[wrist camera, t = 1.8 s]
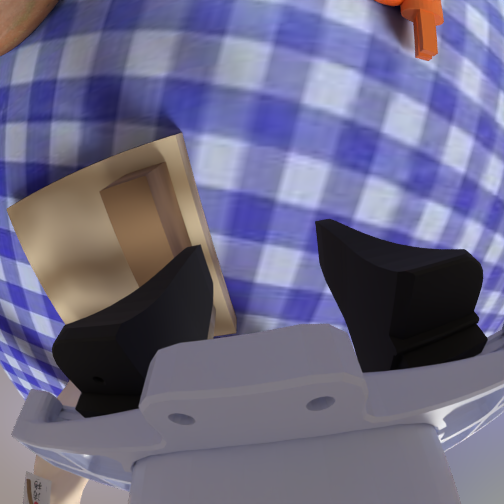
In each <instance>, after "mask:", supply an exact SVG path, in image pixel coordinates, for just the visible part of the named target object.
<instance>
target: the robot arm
mask: <svg viewBox="0 0 504 504" xmlns="http://www.w3.org/2000/svg"><path fill="white" fill-rule="evenodd" d="M315 224H316V233H317V242H318V252H319V263H320V266H321V269H322V272H323V275H324V277H325V280H326V282H327V284H328V286H329V288H330V290H331V292H332V294H333V296H334V298H335V300H336V302H337V304H338V307H339V309H340V311H341V313H342V315H343V317H344V319H345V321H346V324H347V327H348V330H349V333H350V336H351V339H352V342H353V345H354V348H355V352H356V354H355V352H354V349H353V346H352V344H351V341H350V339H349V336H348V334H347V333H346V332H344V331H342V330H340V329H338V328H336V327H334V326H332V325H330V324H299V325H294V326H289V327H284V328H278V329H273V330H267V331H262V332H256V333H250V334H243V335H237V336H230V337H223V338H216V339H209V340H207V339H208V332H209V326H210V320H211V314H212V307H213V280H212V277H211V274H210V271H209V268H208V265H207V262H206V259H205V256H204V253H203V250H202V247H201V244H200V245H195V246H190V247H187V248H185V249H184V250H182V251H181V252H180V253H179V254H178V255H177V256H176V257H175V258H173V259H172V260H171V261H170V262H169V263H168V264H167V265H166V266H165V267H164V268H163V269H161V270H160V271H159V272H158V273H157V274H156V275H154V276H153V277H152V278H151V279H150V280H149V281H147V282H146V283H145V284H143V285H142V286H141V287H139V288H138V289H137V290H135V291H134V292H132V293H131V294H129V295H128V296H126V297H124V298H123V299H121V300H119V301H118V302H116V303H114V304H113V305H111V306H109V307H107V308H105V309H103V310H101V311H99V312H97V313H94V314H92V315H90V316H88V317H85V318H82V319H80V320H77V321H74V322H72V323H69V324H66V325H65V326H64V327H63V329H62V330H61V332H60V334H59V335H58V337H57V339H56V340H55V342H54V344H53V347H52V353H53V357H54V359H55V361H56V364H57V365H58V366H59V368H60V369H61V370H62V372H63V373H64V374H65V375H66V376H67V377H68V378H69V380H70V381H71V382H72V383H73V384H74V385H75V386H76V387H77V388H78V389H79V390H80V391H81V394H80V397H79V400H78V402H77V405H76V407H71V406H65V405H62V403H61V402H60V401H59V400H58V399H57V398H56V397H55V396H54V395H52V394H51V393H49V392H46V391H41V390H36V389H31V391H30V393H29V395H28V397H27V399H26V401H25V403H24V405H23V408H22V410H21V412H20V415H19V417H18V419H17V422H16V424H15V426H14V429H13V431H12V434H11V435H12V437H13V438H15V439H16V440H17V441H18V442H20V443H21V444H22V445H24V446H25V447H27V448H28V449H29V450H31V451H32V452H33V453H35V454H36V455H38V456H39V457H41V458H42V459H44V460H45V461H47V462H48V463H50V464H51V465H53V466H55V467H58V468H60V469H63V470H65V471H68V472H70V473H73V474H76V475H78V476H81V477H84V478H87V479H90V480H92V481H95V482H98V483H101V484H104V485H107V486H111V487H114V488H117V489H121V490H124V491H128V492H130V493H129V499H128V504H461V502H460V499H459V496H458V492H457V489H456V486H455V482H454V479H453V476H452V473H451V470H450V467H449V464H448V462H447V459H446V456H445V453H444V452H445V451H446V450H448V449H450V448H452V447H453V446H455V445H457V444H458V443H460V442H461V441H463V440H465V439H466V438H468V437H469V436H471V435H472V434H474V433H475V432H477V431H478V430H480V429H481V428H483V427H484V426H485V425H487V424H488V423H490V422H491V421H492V420H494V419H495V418H496V417H497V416H499V415H500V414H501V413H503V412H504V324H503V327H502V330H500V331H498V332H496V333H495V334H493V335H491V336H489V337H488V338H487V337H486V336H485V334H484V333H483V332H482V330H481V329H480V328H479V327H478V325H477V323H478V321H479V317H478V316H477V314H476V313H475V312H474V309H475V306H476V303H477V300H478V297H479V294H480V291H481V287H482V282H483V269H482V266H481V264H480V263H479V262H478V261H477V260H476V259H475V258H474V257H473V256H472V255H471V254H470V253H469V252H468V251H466V250H465V249H428V248H419V247H412V246H406V245H401V244H396V243H392V242H389V241H385V240H381V239H378V238H375V237H373V236H370V235H367V234H364V233H362V232H360V231H357V230H355V229H352V228H350V227H348V226H346V225H344V224H341V223H339V222H337V221H334V220H332V219H325V220H320V221H315ZM356 355H357V357H356Z"/></svg>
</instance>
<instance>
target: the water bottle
mask: <svg viewBox="0 0 504 504" xmlns="http://www.w3.org/2000/svg"><path fill="white" fill-rule="evenodd" d="M80 394H81V391H80V390H79V389H78V388H77V387H76V386H75V385H74V384H73V383H72V382H71V381H70V380H69V382H68V384H67V385H66V387H65V388H64V389H63V391H62V392H61V393H60V394H59V396H58V397H57V399H58V400H59V401H60V402H61V403H62V405H65V406H71V407H76V405H77V402H78V400H79V397H80ZM88 480H89V479H87V478H84V477H81V476H78V475H76V474H73V473H70V472H68V471H65V470H63V469H60V468H58V467H55V466H53V465H51V464H50V463H48V462H47V461H45V460H44V459H42V458H41V457H39V456H38V455H36V459H35V465H34V474H32V473H29V472H26V477H25V486H24V497H23V504H80V500H81V496H82V492H83V489H84V487H85V485H86V483H87V482H88Z"/></svg>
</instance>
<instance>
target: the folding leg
mask: <svg viewBox="0 0 504 504" xmlns="http://www.w3.org/2000/svg"><path fill="white" fill-rule="evenodd" d="M99 192H100V195H101V198H102V201H103V203H104V206H105V209H106V212H107V214H108V217H109V219H110V222H111V225H112V227H113V230H114V232H115V234H116V237H117V239H118V242H119V244H120V246H121V249H122V251H123V253H124V256H125V258H126V260H127V262H128V265H129V267H130V269H131V271H132V273H133V276H134V278H135V280H136V282H137V284H138V286H139V287H141V286H142V285H143V284H145V283H146V282H147V281H149V280H150V279H151V278H152V277H153V276H154V275H156V274H157V273H158V272H159V271H160V270H161V269H163V268H164V267H165V266H166V265H167V264H168V263H169V262H170V261H171V260H172V259H173V258H175V257H176V256H177V255H178V254H179V253H180V252H181V251H182V250H184V249H185V248H187V247H190V246H192V244H191V241H190V238H189V235H188V232H187V229H186V226H185V223H184V220H183V217H182V214H181V210H180V207H179V204H178V201H177V198H176V194H175V191H174V188H173V184H172V181H171V178H170V174H169V171H168V167H167V164H166V161H165V162H162V163H159V164H156V165H152V166H149V167H146V168H143V169H140V170H137V171H134V172H131V173H128V174H126V175H124V176H122V177H121V178H119V179H118V180H116V181H114V182H113V183H111V184H110V185H108V186H107V187H105V188H104V189H102V190H101V191H99ZM215 318H216V308H215V306H214V304H213V307H212V314H211V320H210V326H209V332H208V339H207V340H209V339H213V337H214V327H215Z"/></svg>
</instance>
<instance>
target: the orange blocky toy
mask: <svg viewBox="0 0 504 504" xmlns="http://www.w3.org/2000/svg"><path fill="white" fill-rule="evenodd" d="M375 1H377V2H379V3H381V4H385V5H389V6H398V5H400V7H401V15H402V16H403V17H404V18H405V19H407V20H409V21H411V22H413V25H414V39H415V58H419V59H423V60H426V61H429V60H431V59H432V56H435V55H436V54H438V50H437V36H436V26H437V25H441V24H443V22H444V19H443V12H442V6H441V0H375Z"/></svg>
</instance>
